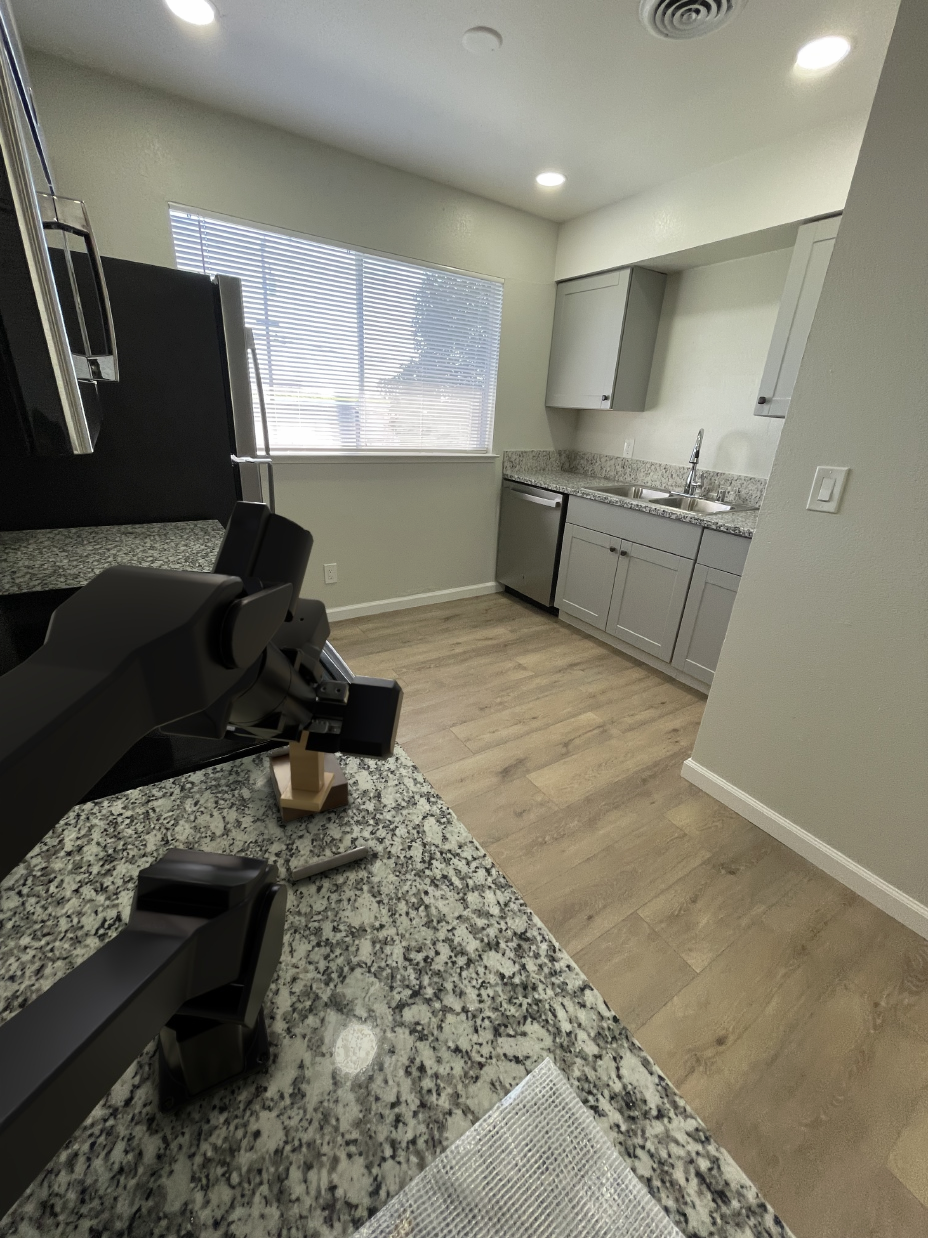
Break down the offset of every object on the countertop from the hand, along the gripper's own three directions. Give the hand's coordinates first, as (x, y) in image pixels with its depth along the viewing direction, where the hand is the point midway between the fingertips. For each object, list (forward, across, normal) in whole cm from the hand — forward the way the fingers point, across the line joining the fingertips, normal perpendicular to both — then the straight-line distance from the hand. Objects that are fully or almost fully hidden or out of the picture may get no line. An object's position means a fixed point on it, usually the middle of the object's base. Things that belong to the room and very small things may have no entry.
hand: (312, 727), depth 49 cm
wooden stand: (+10, +1, +7) cm, 13 cm away
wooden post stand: (+4, 0, +6) cm, 7 cm away
